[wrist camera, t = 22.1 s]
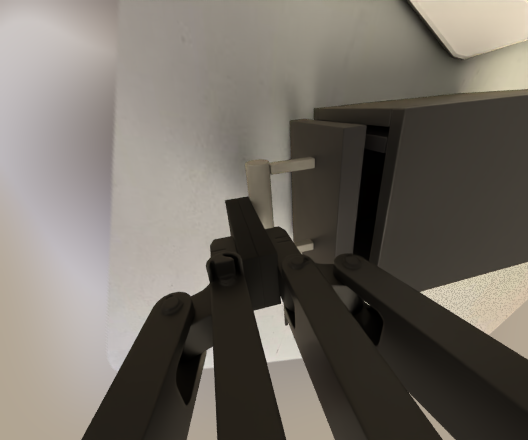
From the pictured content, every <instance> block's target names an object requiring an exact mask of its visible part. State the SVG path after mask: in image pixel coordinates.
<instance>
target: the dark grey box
mask: <svg viewBox="0 0 528 440" xmlns="http://www.w3.org/2000/svg"><path fill="white" fill-rule="evenodd" d="M314 120H320V121H330V122H340V123H350V124H364V125H374V126H384V127H390V129H389V135H388V142H387V148H386V155H385V161H384V168H383V175H382V181H381V188H380V194H379V201H378V207H377V214H376V220H375V227H374V233H373V240H372V246H371V253H370V259H369V261H370V262H372V263H373V264H375V265H377V266H378V267H380V268H381V269H383V270H385V271H386V272H388V273H389V274H391V275H393V276H394V277H396V278H397V279H399V280H401V281H402V282H404V283H405V284H407V285H409V286H410V287H412V288H413V289H415V290H417V291H418V292H421V291H424V290H428V289H432V288H435V287H439V286H442V285H446V284H450V283H453V282H457V281H460V280H464V279H468V278H471V277H475V276H478V275H482V274H486V273H489V272H493V271H496V270H500V269H504V268H507V267H511V266H514V265H518V264H522V263H525V262H528V89H524V90H506V91H489V92H472V93H457V94H447V95H438V96H428V97H418V98H409V99H399V100H389V101H380V102H370V103H360V104H351V105H341V106H331V107H322V108H314Z"/></svg>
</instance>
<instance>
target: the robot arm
mask: <svg viewBox="0 0 528 440" xmlns="http://www.w3.org/2000/svg"><path fill="white" fill-rule="evenodd" d="M225 203H226V209H227V215H228V220H229V226H230V232H231V236H230V237H225V238H220V239H214V240H213V242H212V243H211V245H210V252H211V258H210V259H209V260H208V261H207V263H206V269H207V273H208V277H209V281H210V284H209V285H208V286H207V287H206V288H205V289H204V290H202V291H201V292H199V293H197V294H195V295H193V296H191V297H190V295H189V294H187V293H185V292H176V293H171V294H169V295H167V296H164V297H163V298H162V299H160V300H159V301H158V302H157V303H156V304H155V306H154V307H153V309H152V310H151V312H150V314H149V316H148V318H147V320H146V321H145V323H144V325H143V327H142V329H141V331H140V333H139V334H138V336H137V338H136V340H135V342H134V344H133V345H132V347H131V349H130V351H129V353H128V355H127V357H126V358H125V360H124V362H123V364H122V366H121V368H120V369H119V371H118V373H117V375H116V377H115V379H114V381H113V382H112V384H111V386H110V388H109V390H108V392H107V394H106V395H105V397H104V399H103V401H102V403H101V404H100V406H99V408H98V410H97V412H96V414H95V416H94V417H93V419H92V421H91V423H90V425H89V427H88V428H87V430H86V432H85V434H84V436H83V438H82V440H187V435H188V431H189V426H190V422H191V418H192V413H193V409H194V405H195V401H196V396H197V392H198V388H199V383H200V379H201V375H202V370H203V366H204V362H205V357H206V350H208V349H209V348H211V347H213V356H214V377H215V398H216V420H217V439H218V440H286V437H285V433H284V429H283V425H282V421H281V417H280V413H279V410H278V405H277V402H276V398H275V394H274V390H273V386H272V382H271V378H270V374H269V370H268V366H267V362H266V358H265V354H264V350H263V347H262V343H261V339H260V335H259V331H258V327H257V323H256V319H255V315H254V310H258V309H261V308H265V307H269V306H273V305H277V304H281V298H282V300H283V303H284V316H285V326H286V325H288V323H289V325H290V328H291V330H292V333H293V335H294V338H295V340H296V343H297V345H298V348H299V350H300V353H301V355H302V358H303V361H304V363H305V366H306V368H307V371H308V373H309V376H310V378H311V380H312V383H313V386H314V388H315V390H316V393H317V395H318V398H319V401H320V403H321V405H322V408H323V411H324V413H325V416H326V418H327V421H328V423H329V426H330V428H331V431H332V433H333V436H334V438H335V440H442V438H441V437H440V435H439V434H438V433H437V431H436V430H435V428H434V427H433V426H432V424H431V423H430V422H429V420H428V419H427V418H426V416H425V415H424V413H423V412H422V411H421V409H420V408H419V406H418V405H417V404H416V402H415V401H414V399H413V398H412V397H411V395H412V396H413V397H414V398H415V399H416V400H417V401H418V402H419V403H420V404H421V405H422V406H423V407H424V408H425V409H426V410H427V411H428V412H429V413H430V414H431V415H432V416H433V417H434V418H435V419H436V420H437V421H438V422H439V423H440V424H441V425H442V426H443V427H444V428H445V429H446V430H447V431H448V432H449V433H450V434H451V436H452V437H454V439H456V440H528V359H526V358H524V357H522V356H521V355H519V354H518V353H516V352H515V351H513V350H511V349H510V348H508V347H507V346H505V345H503V344H502V343H500V342H499V341H497V340H495V339H493V338H492V337H490V336H489V335H487V334H486V333H484V332H483V331H481V330H479V329H478V328H476V327H475V326H473V325H471V324H470V323H468V322H466V321H465V320H463V319H462V318H460V317H458V316H457V315H455V314H454V313H452V312H450V311H449V310H447V309H446V308H444V307H442V306H441V305H439V304H438V303H436V302H434V301H433V300H431V299H430V298H428V297H426V296H425V295H423V294H422V293H420V292H418V291H417V290H415V289H413V288H412V287H410V286H409V285H407V284H405V283H404V282H402V281H401V280H399V279H397V278H396V277H394V276H393V275H391V274H389V273H388V272H386V271H385V270H383V269H381V268H380V267H378V266H377V265H375V264H373V263H372V262H370V261H369V260H367V259H365V258H364V257H362V256H359V255H356V254H352V253H344V254H341V255H338V256H337V257H335V260H334V264H320V263H315V262H314V261H313V260H312V259H311V258H310V257H309V256H306V255H304V254H301V253H300V251H299V250H298V248H297V247H296V245H295V244H294V242H293V241H292V239H291V238H290V236H289V235H288V233H287V232H286V231H285V230H284V229H282V228H281V227H279V226H278V227H273V228H268V229H265V228H264V226H263V224H262V222H261V220H260V218H259V217H258V215H257V213H256V211H255V209H254V207H253V205H252V203H251V201H250V199H249V197H243V198H237V199H231V200H225ZM280 296H281V297H280ZM364 301H365V302H367V303H368V304H369V305H368V304H367V303H365V302H364ZM409 393H410V394H411V395H410V394H409Z"/></svg>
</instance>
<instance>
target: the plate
mask: <svg viewBox="0 0 528 440" xmlns="http://www.w3.org/2000/svg"><path fill="white" fill-rule="evenodd" d="M407 2H408V3H409V4H410V5H411V7H412V8H413V9H414V10H415V12H416V13H417V14H418V16H419V17H420V18H421V19H422V21H423V22H424V23H425V24H426V26H427V27H428V28H429V29H430V31H431V32H432V33H433V35H434V36H435V37H436V38H437V40H438V41H439V42H440V43H441V45H442V46H443V47H444V48H445V50H446V51H447V52H448V53H449V55H450V56H451V57H454V58H457V59H461V60H464V59H468V58H471V57H474V56H478V55H481V54H484V53H487V52H490V51H494V50H497V49H500V48H503V47H506V46H510V45H513V44H516V43H519V42H523V41H526V40H528V0H407Z"/></svg>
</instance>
